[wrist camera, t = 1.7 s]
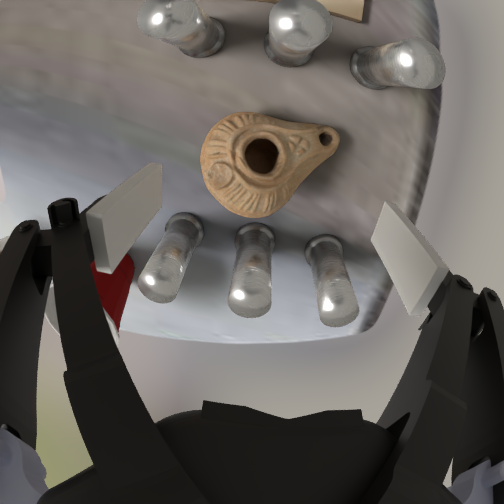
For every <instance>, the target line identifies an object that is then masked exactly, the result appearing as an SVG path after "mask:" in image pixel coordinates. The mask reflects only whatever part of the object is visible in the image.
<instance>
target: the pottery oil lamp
mask: <svg viewBox="0 0 504 504" xmlns="http://www.w3.org/2000/svg"><path fill="white" fill-rule="evenodd" d="M339 142H340V138H339V135H338V133H337V132H336V131H335V130H334V129H333V128H331V127H328V126H322V125H317V124H310V123H296V122H288V121H284V120H280V119H276V118H273V117H269V116H266V115H263V114H259V113H253V112H237V113H234V114H231V115H229V116H227V117H225V118H223V119H222V120H220V121H219V122H218V123H217V124H215V125H214V126H213V127H212V129H211V130H210V132H209V133H208V135H207V136H206V139H205V141H204V143H203V146H202V150H201V157H200V163H201V168H202V174H203V177H204V181H205V184H206V186H207V188H208V190H209V191H210V192H211V194H212V195H213V197H214V198H215V199H216V200H217V201H218V202H220V203H221V204H222V205H223V206H224V207H225V208H227V209H228V210H229V211H231V212H233V213H235V214H238V215H241V216H244V217H248V218H261V217H266V216H269V215H271V214H273V213H275V212H276V211H278V210H279V209H280V208H281V207H282V206H284V205H285V204H286V203H287V202H288V201H289V199H290V198H291V196H292V195H293V193H294V192H295V190H296V189H297V188H298V186H299V185H300V184H301V182H302V181H303V180H304V179H305V178H306V177H307V176H308V175H309V174H310V173H311V172H312V171H313V170H314V169H315V168H316V167H318V166H319V165H320V164H321V163H322V162H323V161H325V160H326V159H327V158H328V157H330V156H331V155H333V154H334V153H335V151H336V149H337V147H338V145H339Z"/></svg>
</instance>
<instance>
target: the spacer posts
mask: <svg viewBox="0 0 504 504" xmlns="http://www.w3.org/2000/svg"><path fill="white" fill-rule="evenodd" d="M137 23H138V27H139V29H140V30H141V31H142V32H143V33H144V34H145V35H147V36H150V37H153V38H156V39H158V40H161V41H164V42H167V43H169V44H172V45H174V46H177V47H179V49H180V50H181V51H182V52H183V53H184V54H186V55H188V56H191V57H195V58H204V57H208V56H211V55H213V54H214V53H216V52H217V51H218V50H219V49H220V48H221V47H222V45H223V43H224V41H225V30H224V28H223V26H222V25H221V24H220V23H219V22H218V21H217V20H216V19H214V18H212V17H208V16H207V14H206V13H205V12H204V11H203V10H202V9H201V8H200V7H199V6H198V5H197V4H196V3H195V2H194V1H193V0H146V1H145V2H144V4H143V5H142V6H141V8H140V10H139V12H138V16H137ZM332 27H333V22H332V17H331V15H330V13H329V11H328V10H327V9H326V8H325V7H324V6H323V5H322V4H321V3H319V2H318V1H316V0H280V1H278V2H277V3H276V4H275V5H274V6H273V8H272V9H271V11H270V15H269V32H268V33H267V35H266V37H265V40H264V48H265V51H266V54H267V55H268V57H269V58H270V59H271V60H272V61H273V62H275V63H276V64H278V65H281V66H284V67H296V66H300V65H302V64H304V63H305V62H307V61H308V60H309V59H310V58H311V56H312V54H313V52H314V49H315V48H316V47H318V46H319V45H320V44H321V43H322V42H324V41H325V40H326V39H327V38H328V37H329V35H330V34H331V31H332ZM350 70H351V73H352V75H353V76H354V78H355V79H356V80H357V81H358V82H359V83H360V84H361V85H363V86H365V87H367V88H371V89H382V88H385V87H387V86H402V87H414V88H423V89H434V88H436V87H438V86H439V85H440V84H441V83H442V82H443V80H444V77H445V64H444V60H443V58H442V56H441V54H440V52H439V51H438V49H437V48H436V47H435V46H434V45H433V44H431V43H430V42H429V41H427V40H425V39H422V38H410V39H406V40H402V41H398V42H394V43H390V44H387V45H383V46H380V47H377V48H376V47H372V46H367V47H363V48H360V49H358V50H356V51H355V52H354V53H353V55H352V56H351V59H350ZM203 236H204V227H203V225H202V223H201V221H200V220H199V219H198V218H197V217H196V216H194V215H192V214H190V213H184V212H182V213H177V214H175V215H173V216H172V217H171V218H170V219H169V221H168V222H167V224H166V227H165V234H164V235H163V237H162V239H161V240H160V242H159V244H158V245H157V247H156V249H155V250H154V252H153V254H152V255H151V257H150V259H149V261H148V262H147V264H146V266H145V267H144V269H143V271H142V273H141V274H140V276H139V278H138V287H139V289H140V291H141V292H142V294H143V295H144V296H145V297H147V298H148V299H150V300H152V301H154V302H157V303H168V302H171V301H173V300H174V299H175V297H176V295H177V292H178V289H179V287H180V284H181V281H182V279H183V276H184V274H185V271H186V269H187V266H188V264H189V261H190V259H191V256H192V254H193V251H194V249H195V248H196V247H197V246H198V245H199V244H200V243H201V241H202V239H203ZM235 247H236V250H237V252H236V258H235V264H234V269H233V275H232V280H231V286H230V292H229V297H228V305H229V307H230V309H231V310H232V311H233V312H234V313H235V314H237V315H239V316H242V317H246V318H256V317H260V316H262V315H264V314H266V313H267V312H268V311H269V309H270V307H271V253H272V252H273V250H274V247H275V237H274V234H273V232H272V230H271V229H270V228H269V227H267V226H266V225H264V224H261V223H248V224H246V225H244V226H242V227H241V228H240V229H239V230H238V232H237V234H236V238H235ZM342 256H343V248H342V245H341V243H340V241H339V240H338V239H337V238H336V237H334V236H332V235H329V234H321V235H318V236H315V237H314V238H312V239H311V240H310V241H309V242H308V243H307V245H306V247H305V257H306V261H307V263H308V264H309V265H310V266H311V269H312V275H313V280H314V286H315V291H316V297H317V303H318V308H319V315H320V320H321V321H322V323H323V324H325V325H327V326H330V327H341V326H345V325H347V324H349V323H351V322H352V321H353V320H355V319H356V317H357V316H358V314H359V306H358V303H357V300H356V296H355V293H354V290H353V287H352V284H351V281H350V278H349V275H348V272H347V270H346V267H345V264H344V261H343V258H342Z"/></svg>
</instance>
